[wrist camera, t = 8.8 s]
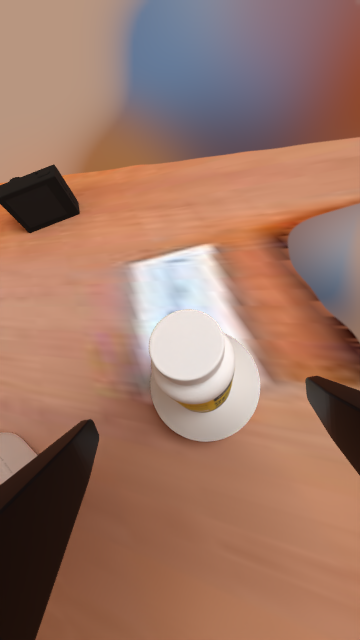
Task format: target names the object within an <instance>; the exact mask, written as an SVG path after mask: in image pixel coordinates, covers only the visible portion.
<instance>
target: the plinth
mask: <svg viewBox="0 0 360 640" xmlns="http://www.w3.org/2000/svg"><path fill="white" fill-rule="evenodd" d="M224 334H225V333H224ZM225 335H226V336H227V337H228V339H229V340H230V342H231V344H232V347H233V350H234V353H235V371H234V376H233V382H232V387H231V390H230V393H229V396H228V398H227V399H226V401H225V402H224V403H223V404H222V405H221V406H220V407H219V408H217V409H215V410H213V411H210V412H205V413H199V412H193V411H191V410H188V409H186V408H185V407H183V406H182V405H181V404H179V403H178V402H176V401H175V400H173V399H172V398H170V397H169V396H167V395H166V394H165V393H164V392H163V391H162V390H161V389H160V387H159V386H158V384H157V383H156V381H155V379H154V376H153V373H151V380H150V390H151V397H152V400H153V404H154V406H155V409H156V411H157V413H158V414H159V416H160V418H161V419H162V420H163V421H164V423H165V424H166V425H167V426H168V427H169V428H170V429H172V430H173V431H174V432H176V433H177V434H179V435H181V436H183V437H185V438H188V439H191V440H195V441H203V442H209V441H217V440H221V439H224V438H227V437H229V436H231V435H233V434H234V433H236V432H238V431H239V430H240V429H241V428H242V427H243V426H244V425H245V424H246V423H247V422H248V421H249V420H250V418H251V416H252V415H253V413H254V411H255V409H256V407H257V404H258V400H259V395H260V378H259V373H258V369H257V366H256V364H255V361H254V360H253V358H252V356H251V355H250V353H249V352H248V351H247V349H246V348H245V347H244V346H243V345H242V344H241V343H240V342H238V341H237V340H236V339H234V338H233V337H231V336H229V335H227V334H225Z"/></svg>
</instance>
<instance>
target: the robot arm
mask: <svg viewBox="0 0 360 640" xmlns="http://www.w3.org/2000/svg"><path fill="white" fill-rule="evenodd" d="M306 392H307V398H308V401H309V402H310V404H311V406H312V407H313V409H314V411H315V412H316V414H317V415H318V417H319V419H320V420H321V422H322V424H323V425H324V427H325V428H326V430H327V432H328V433H329V435H330V436H331V438H332V439H333V441H334V442H335V443H336V445H337V446H338V447H339V449H340V450H341V451H342V453H343V454H344V455H345V457H346V458H347V459H348V461H349V462H350V463H351V465H352V466H353V467H354V469H355V470H356V471H357V472H358V474H359V475H360V391H359V390H356V389H353V388H350V387H348V386H345V385H342V384H339V383H336V382H333V381H331V380H328V379H325V378H322V377H319V376H312V377H307V378H306ZM98 442H99V434H98V431H97V429H96V426H95V424H94V422H93V420H91V419H88V420H83V421H81V422H80V423H78V424H77V425H76V426H75V427H73V428H72V429H71V430H69V431H68V432H67V433H66V434H64V435H63V436H62V437H61V438H59V439H58V440H57V441H55V442H54V443H53V444H52V445H50V446H49V447H48V448H47V449H45V450H44V451H43V452H42V453H40V454H39V455H38V456H36V457H35V458H34V459H33V460H31V461H30V462H29V463H28V464H26V465H25V466H24V467H22V468H21V469H20V470H19V471H17V472H16V473H15V474H14V475H12V476H11V477H10V478H9V479H7V480H6V481H5V482H3V483H2V484H1V485H0V640H35V639H36V636H37V633H38V630H39V627H40V624H41V621H42V618H43V615H44V612H45V609H46V606H47V604H48V601H49V598H50V595H51V592H52V589H53V586H54V583H55V580H56V577H57V574H58V571H59V568H60V565H61V562H62V559H63V556H64V553H65V550H66V547H67V544H68V541H69V538H70V535H71V532H72V529H73V526H74V523H75V520H76V517H77V514H78V511H79V509H80V506H81V503H82V500H83V497H84V494H85V491H86V488H87V485H88V482H89V478H90V475H91V471H92V467H93V463H94V458H95V454H96V450H97V446H98Z"/></svg>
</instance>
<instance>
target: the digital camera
mask: <svg viewBox="0 0 360 640" xmlns="http://www.w3.org/2000/svg"><path fill="white" fill-rule="evenodd" d="M0 204H1V205H2V206H3V207H4V208H5V209H6V210H7V211H8V212H9V213H10V214H11V215H12V216H13V217H14V218H15V219H16V220H17V221H18V222H19V223H20V224H21V225H22V226H23V227H24V228H25V229H26V230H27V231H28V232H29V233H32V232H34V231H37V230H39V229H42V228H44V227H47V226H50V225H52V224H55V223H57V222H60V221H62V220H65V219H68V218H70V217H73V216H75V215H78V214H80V212H79V204H78V201H77V199H76V198H75V196H74V195H73V193H72V191H71V190H70V188H69V187H68V185H67V184H66V182H65V180H64V179H63V177H62V176H61V174H60V173H59V171H58V169H57V168H56V167H55V165H51V166H49V167H46V168H44V169H41V170H38V171H36V172H33V173H31V174H28V175H26V176H23V177H15V178H12V179H11V180H10V181H9V182H8V183H5V184H3V185H0ZM77 209H78V210H77Z"/></svg>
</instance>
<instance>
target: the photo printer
mask: <svg viewBox="0 0 360 640" xmlns="http://www.w3.org/2000/svg"><path fill="white" fill-rule="evenodd" d="M36 456H38V455H37V454H36V453H35V452H34V451H33V450H32V449H31V448H30V447H29V446H28V444H27V443H26V442H25V441H24V440H23V439H22V438H21V437H19V436H18V435H16V434H14V433H9V432H0V485H1V484H2V483H3V482H5V481H6V480H7V479H9V478H10V477H11V476H12V475H14V474H15V473H16V472H17V471H19V470H20V469H21V468H22V467H24V466H25V465H26V464H28V463H29V462H30V461H31V460H33V459H34V458H35V457H36Z"/></svg>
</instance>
